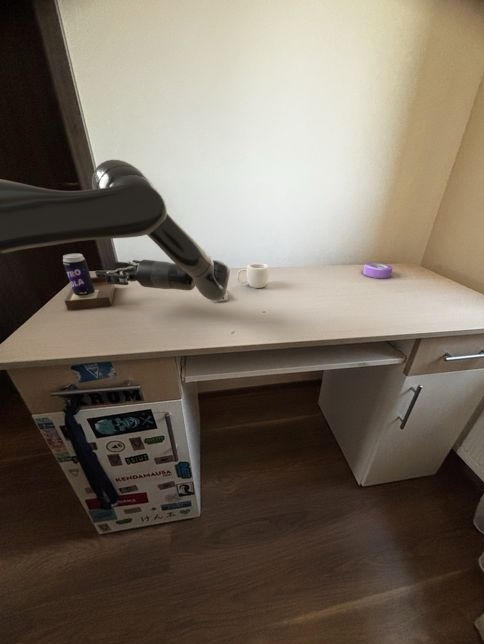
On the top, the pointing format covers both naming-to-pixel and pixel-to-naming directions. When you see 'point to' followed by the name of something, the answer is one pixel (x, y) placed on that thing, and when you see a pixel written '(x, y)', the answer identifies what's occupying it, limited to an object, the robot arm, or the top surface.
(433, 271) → the top surface
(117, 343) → the top surface
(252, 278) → the mug
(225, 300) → the multiport hub
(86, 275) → the beverage can
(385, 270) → the tape roll
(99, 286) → the wooden serving tray
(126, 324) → the top surface
